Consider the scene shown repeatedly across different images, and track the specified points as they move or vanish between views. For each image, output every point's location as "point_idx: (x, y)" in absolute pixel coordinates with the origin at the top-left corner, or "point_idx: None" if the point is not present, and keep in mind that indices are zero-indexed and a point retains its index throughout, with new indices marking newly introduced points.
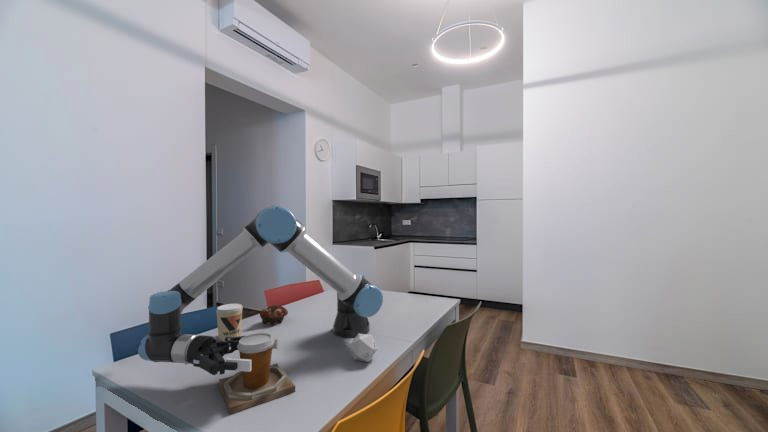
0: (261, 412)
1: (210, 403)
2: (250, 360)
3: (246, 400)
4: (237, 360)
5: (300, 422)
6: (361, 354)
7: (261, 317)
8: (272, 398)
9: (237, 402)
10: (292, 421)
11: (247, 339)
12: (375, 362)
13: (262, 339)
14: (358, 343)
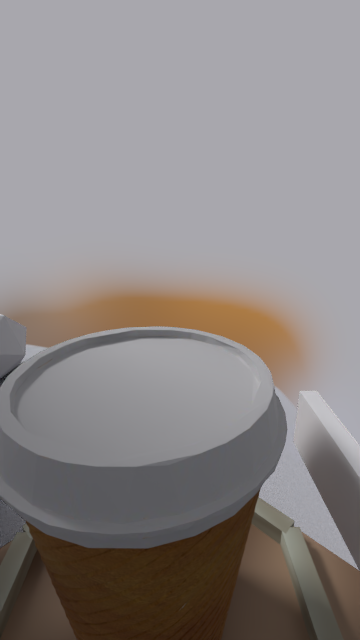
0: (302, 496)
1: None
2: (309, 391)
3: (311, 552)
4: (356, 445)
5: (283, 405)
6: (25, 347)
7: None
8: None
9: (348, 588)
10: (289, 417)
11: (132, 427)
12: (25, 358)
13: (130, 359)
14: (6, 327)
